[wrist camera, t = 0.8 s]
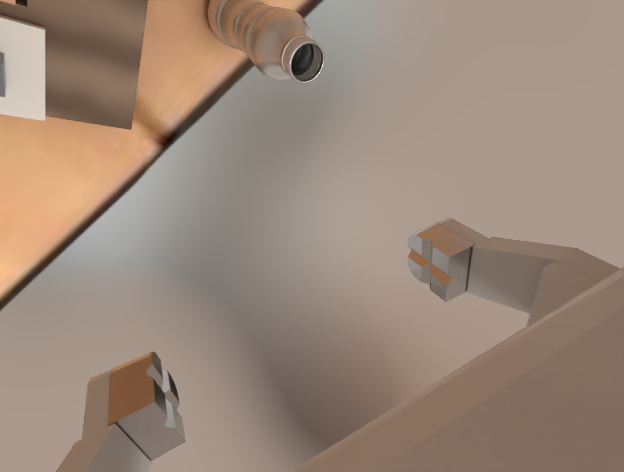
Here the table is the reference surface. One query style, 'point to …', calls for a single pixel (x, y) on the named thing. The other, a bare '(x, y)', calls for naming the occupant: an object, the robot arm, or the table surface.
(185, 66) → the table surface
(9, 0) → the block
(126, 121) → the board
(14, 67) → the lid
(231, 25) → the plastic bottle
